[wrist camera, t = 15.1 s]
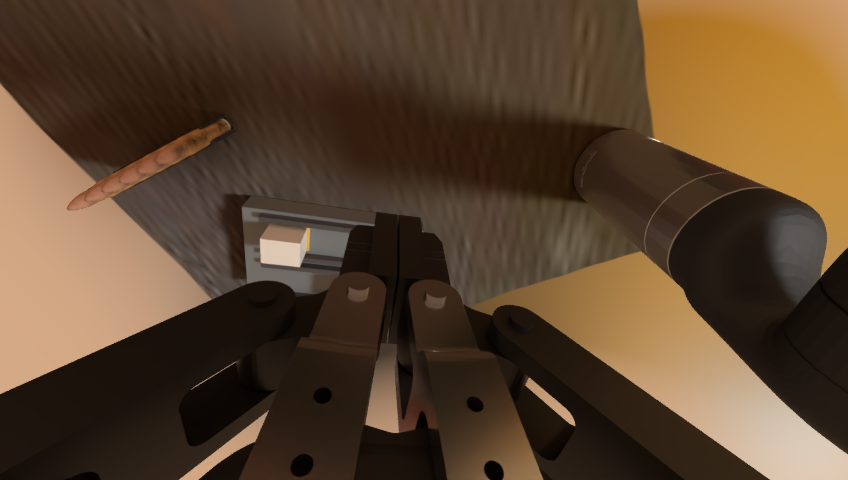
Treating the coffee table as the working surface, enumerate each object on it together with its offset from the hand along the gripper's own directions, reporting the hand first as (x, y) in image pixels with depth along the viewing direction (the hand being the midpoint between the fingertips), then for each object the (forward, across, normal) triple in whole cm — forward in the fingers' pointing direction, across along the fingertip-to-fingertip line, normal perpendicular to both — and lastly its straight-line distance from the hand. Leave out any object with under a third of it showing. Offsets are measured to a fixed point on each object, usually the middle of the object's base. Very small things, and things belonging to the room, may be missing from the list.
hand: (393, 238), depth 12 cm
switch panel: (+28, +5, +19) cm, 35 cm away
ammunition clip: (+29, +21, +8) cm, 36 cm away
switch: (+25, +10, +16) cm, 32 cm away
